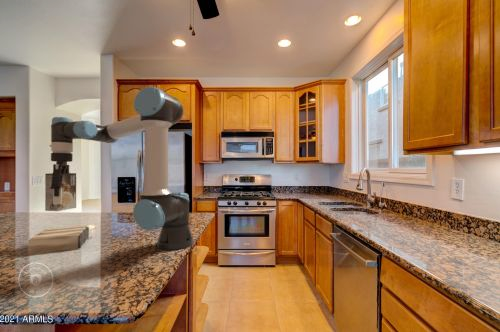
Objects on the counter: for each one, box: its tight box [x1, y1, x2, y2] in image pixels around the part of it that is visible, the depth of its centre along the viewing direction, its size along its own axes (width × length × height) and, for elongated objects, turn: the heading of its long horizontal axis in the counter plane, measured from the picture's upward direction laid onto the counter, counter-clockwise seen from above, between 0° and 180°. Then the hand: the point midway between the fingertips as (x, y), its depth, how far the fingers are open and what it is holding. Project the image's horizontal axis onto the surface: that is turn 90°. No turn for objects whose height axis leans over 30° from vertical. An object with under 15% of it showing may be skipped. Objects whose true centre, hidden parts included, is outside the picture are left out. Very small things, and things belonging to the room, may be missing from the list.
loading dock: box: [27, 225, 90, 256], centre depth 104 cm, size 18×17×6 cm
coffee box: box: [44, 172, 77, 212], centre depth 105 cm, size 9×6×16 cm
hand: (61, 202), depth 104 cm, fingers closed on coffee box, 10 cm apart
